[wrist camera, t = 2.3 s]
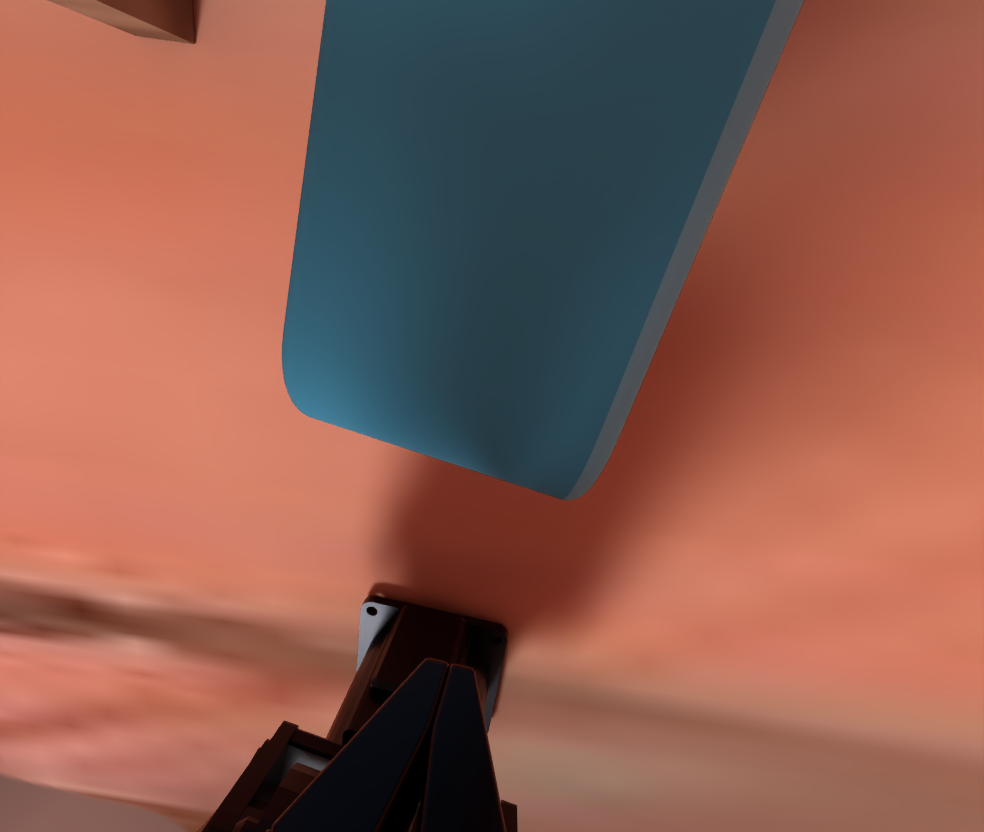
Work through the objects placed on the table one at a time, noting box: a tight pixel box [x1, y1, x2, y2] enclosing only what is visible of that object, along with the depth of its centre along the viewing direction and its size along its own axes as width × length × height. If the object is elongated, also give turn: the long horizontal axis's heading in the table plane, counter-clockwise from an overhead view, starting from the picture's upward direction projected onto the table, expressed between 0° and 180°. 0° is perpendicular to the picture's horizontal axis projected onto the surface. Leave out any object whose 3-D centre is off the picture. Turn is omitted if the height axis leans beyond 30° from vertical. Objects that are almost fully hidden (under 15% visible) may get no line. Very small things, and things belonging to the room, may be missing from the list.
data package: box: [282, 0, 804, 500], centre depth 10 cm, size 12×4×12 cm, turn 164°
